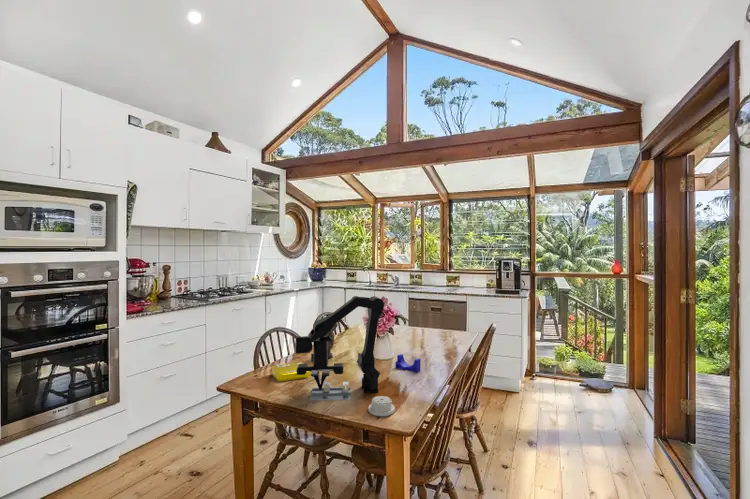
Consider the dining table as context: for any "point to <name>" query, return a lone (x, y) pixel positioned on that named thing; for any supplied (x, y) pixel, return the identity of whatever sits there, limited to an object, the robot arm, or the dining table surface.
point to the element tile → (288, 372)
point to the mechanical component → (381, 406)
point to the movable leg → (326, 387)
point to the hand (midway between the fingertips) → (320, 389)
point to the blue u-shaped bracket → (404, 366)
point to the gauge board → (332, 393)
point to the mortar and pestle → (330, 343)
